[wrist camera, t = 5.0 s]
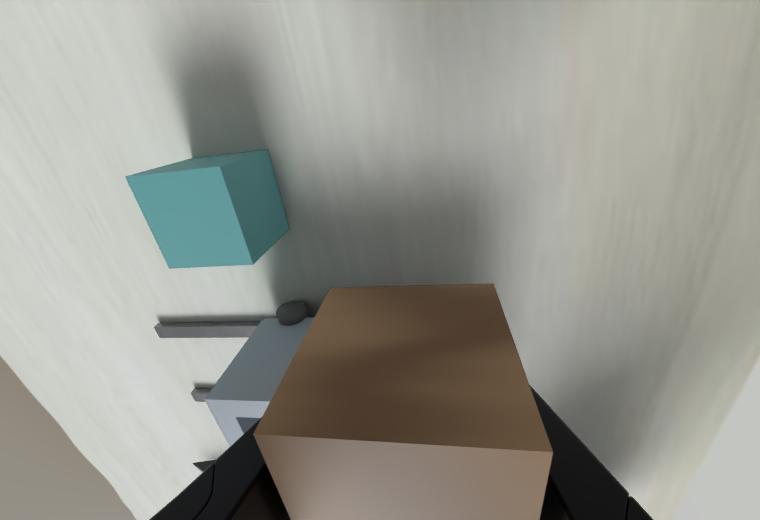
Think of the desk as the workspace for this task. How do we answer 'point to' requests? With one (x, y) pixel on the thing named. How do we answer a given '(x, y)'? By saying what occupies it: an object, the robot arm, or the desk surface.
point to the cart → (257, 371)
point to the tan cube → (407, 411)
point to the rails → (205, 332)
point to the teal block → (212, 209)
